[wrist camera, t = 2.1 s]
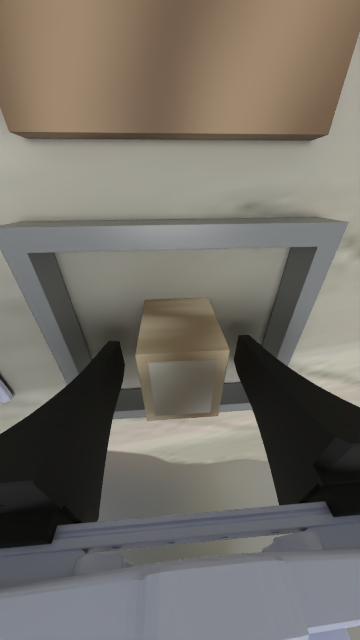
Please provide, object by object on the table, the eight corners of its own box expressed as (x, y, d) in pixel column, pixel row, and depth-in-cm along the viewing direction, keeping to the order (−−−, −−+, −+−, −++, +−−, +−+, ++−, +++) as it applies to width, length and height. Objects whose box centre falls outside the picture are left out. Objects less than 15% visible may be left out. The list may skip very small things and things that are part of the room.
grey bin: (93, 398, 17) (85, 420, 15) (20, 221, 9) (-11, 227, 8) (259, 388, 18) (269, 408, 16) (318, 217, 10) (348, 222, 9)
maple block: (152, 357, 15) (147, 421, 11) (145, 299, 12) (135, 355, 8) (203, 354, 15) (218, 416, 11) (207, 297, 12) (230, 350, 8)
